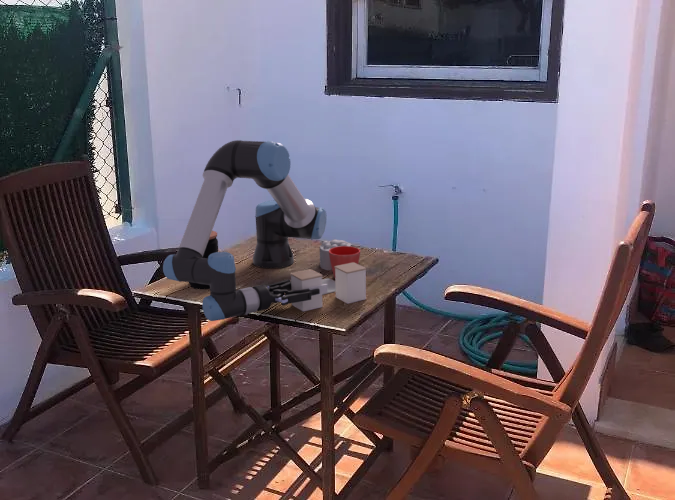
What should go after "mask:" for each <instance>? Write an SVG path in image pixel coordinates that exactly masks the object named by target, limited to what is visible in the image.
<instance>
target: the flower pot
mask: <svg viewBox="0 0 675 500" xmlns="http://www.w3.org/2000/svg"><path fill="white" fill-rule="evenodd" d="M360 256H361V249H359V248H358V247H355V246H351V247H350V246H339V247H334V248H331V249H330V250H329V257H330V262H331V267H332V270H331V272H332V274H333V275H332V276H333V277H334V279H335V268H334V266H338V265H343V264H348V263H353V262H354V263H356V264H359V263H360V258H361V257H360Z"/></svg>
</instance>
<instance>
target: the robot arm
mask: <svg viewBox="0 0 675 500" xmlns="http://www.w3.org/2000/svg"><path fill="white" fill-rule="evenodd" d="M290 170H291V158H290V153H289V151H288V149H287V147H286V146H285V145H284V144H282V143H280V142H275V141H269V140H267V141H258V140H257V141H255V140H254V141H253V140H241V139H237V140H231V141H228V142H227V143H225V144H223V145H222V146H221V147H219V148H218V149H217V150H216V151H215V152H214V153H213V154H212V155H211V157H210V158H209V159H208V161H207V163H206V164H205V167H204V169H203V172H202V178H203V179H204V180H203V181H202V185H201V186H200V187H201V188H200V189H199V193H198V196H197V198H196V200H195V204H194V206H193V209H192V211H191V214H190V217H189V219H188V223H187V225H186V228H185V230H184V233H183V236H182V238H181V241H180V242H179V243H180V244H179V245H178V246H179V247H178V249H177V252H176V254H175V253H174V254H169V255H167V256H166V258H165V259H164V261H163V265H162V271H163V274H164V277H166V279H168V280H172V281H176V282H180V283H181V282H183V283H189V282H192V283H199V284H207V285H210V289H209V295H207V296H204V297H203V299H202V306H201V307H202V311H203V314H204V317H205V318H206V319H207V320H208V321H209V322H216V321H221V320H222V321H223V320H224V321H225V320H226V319H231V318H234V317H238V316H243V315H245V316H248V315H249V314H250V313H251V314H253V313H256V312H260V311H261V312H262V311H266V310H269V309H270V308H271V305H272V304H278V303H281V304H280V305H282V306H286V305H289V304H292V303H296V302H301V301H307V300H311V296H315V295H319V294H323V295H325V294H324V293H327V294H329V293H328V292H327V284H323V285H318V286H314V287H309V288H308V289H304V290H291V279H285V280H284V279H283V280H281V281H277V282H272V283H270V284H259V285H255V286H252V287H251V286H248V287H245V288H244V287H243V288H239V289H237V282H236V281H237V280H236V279H237V278H236V263H235V256H234V255H233V254H232V253H230V252H228V251H218V252H215V253H212V254H210V255H209V256H208V259H207V258H202V257H203V254H204V251H205V249H206V246H207V243H208V240H209V238H210V235H211V232H212V231H213V229H214V227H215V223H216V221H217V218H218V216H219V212H220V210H221V206H222V204H223V201H224V199H225V197H226V193H227V191H228V190H227V189H228V188H231V187H232V186H233V184H234V181H235V179H252V180H253V181H254V182H255V184H256V185H257V186H258V187H259V188H262V189H264V190H267V192H268V193H269V195H270V196H271V197H272V198H273V200H267V201H262V202H260V203H258V204H257V205H256V206H255V216H254V217H255V234H256V246H255V249H254V252H253V256H252V264H253V265H254V266H256V267H258V268H264V269H279V268H284V267H285V268H286V267H289V266H291V265H292V264H294V261H295V259H294V258H295V256H294V253H293V250H292V247H291V245H290V243H289V238H292V239H303V240H311V241H315V240H316V241H317V240H320V239H322V237H323V236H324V234H325V232H326V231H325V230H326V227H327V211H326V209H325V208H324V207H321V206H319V207H318V206H317V207H316V206H315V204H314V203H313V202H312V201H311V200H309V199H308V198H305V197H304V196H303V194H302V193H301V191H300V190H299V188H298V187H297V186H296V185H297V184H295V182H294V181H293V179H292V178H291V176H290V175H289V174H290Z"/></svg>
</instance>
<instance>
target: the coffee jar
mask: <svg viewBox="0 0 675 500" xmlns="http://www.w3.org/2000/svg"><path fill="white" fill-rule="evenodd" d="M217 237H218V232H217V231H215V230H212V232H211V235H210V238H209V240H208V243H207V246H206V249H205V251H204V254H203V257H202V258H207V259H208V256H209V255H210V254H212V253H215V252H219V241H218V238H217ZM188 285H190V287H191V288H193V289H196V290H210V285H207V284H199V283H192V282H188Z"/></svg>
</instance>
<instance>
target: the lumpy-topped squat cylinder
mask: <svg viewBox="0 0 675 500" xmlns="http://www.w3.org/2000/svg"><path fill="white" fill-rule="evenodd" d="M339 246H350V247H352V243H351V242H347V241H346V240H343V239H342V240H341V239H335V238H334V239H332V240H329V241H328V240H324V241H322V243H321V244H320V245H319V267H320V269H322V270H325V271H332V267H331V262H330V257H329V250H330V249H331V248H334V247H339Z"/></svg>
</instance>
